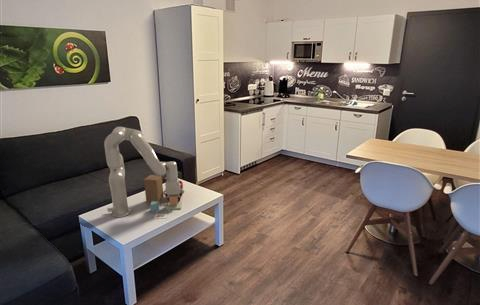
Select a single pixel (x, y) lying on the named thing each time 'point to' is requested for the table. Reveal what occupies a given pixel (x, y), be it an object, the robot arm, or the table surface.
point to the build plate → (174, 206)
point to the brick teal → (154, 206)
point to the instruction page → (160, 216)
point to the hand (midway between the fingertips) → (174, 201)
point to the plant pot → (180, 186)
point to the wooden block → (153, 189)
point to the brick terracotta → (173, 199)
